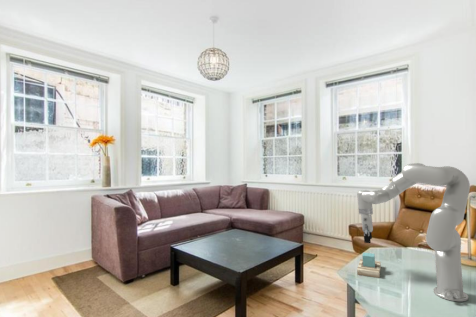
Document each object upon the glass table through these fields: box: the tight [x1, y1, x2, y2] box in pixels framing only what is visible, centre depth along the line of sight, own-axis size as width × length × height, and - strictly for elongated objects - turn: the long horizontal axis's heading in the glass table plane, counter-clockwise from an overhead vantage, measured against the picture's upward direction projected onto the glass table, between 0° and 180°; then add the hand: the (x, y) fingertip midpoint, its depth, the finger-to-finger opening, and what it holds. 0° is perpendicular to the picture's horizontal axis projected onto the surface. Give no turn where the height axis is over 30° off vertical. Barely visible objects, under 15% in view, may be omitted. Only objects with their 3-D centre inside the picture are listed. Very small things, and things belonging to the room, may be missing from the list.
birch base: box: [356, 258, 382, 279], centre depth 153 cm, size 18×11×3 cm, turn 149°
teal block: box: [362, 252, 376, 268], centre depth 154 cm, size 6×6×6 cm
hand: (368, 240), depth 154 cm, fingers open, 9 cm apart
